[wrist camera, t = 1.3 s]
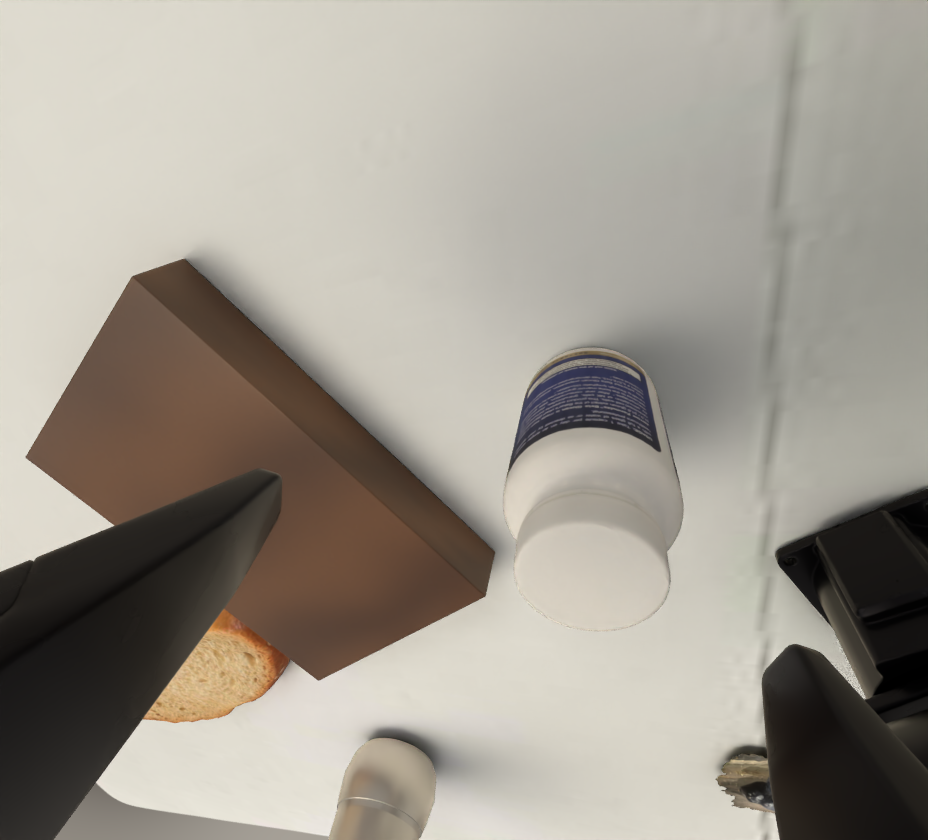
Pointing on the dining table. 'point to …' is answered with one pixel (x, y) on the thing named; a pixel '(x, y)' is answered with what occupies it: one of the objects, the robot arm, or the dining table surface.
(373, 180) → the dining table surface
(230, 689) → the slice of bread
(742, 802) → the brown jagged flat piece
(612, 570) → the pill bottle
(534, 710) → the dining table surface
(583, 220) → the dining table surface
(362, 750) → the silver metal bottle
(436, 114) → the dining table surface
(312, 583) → the walnut board
